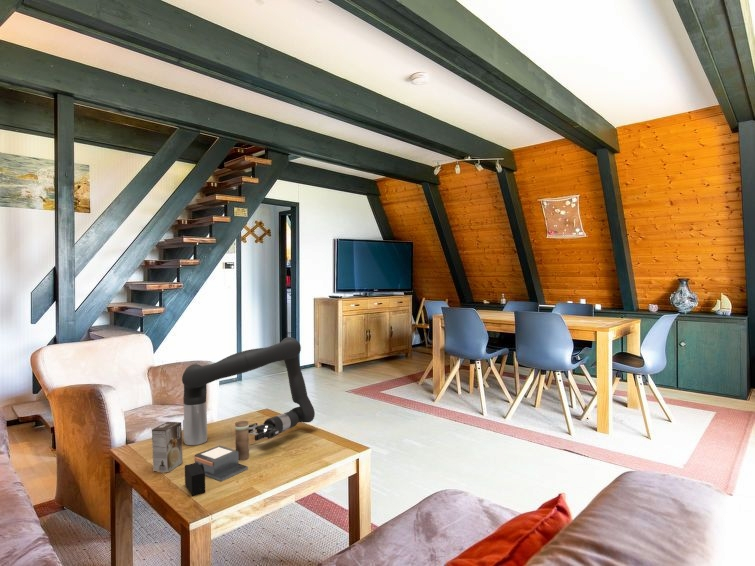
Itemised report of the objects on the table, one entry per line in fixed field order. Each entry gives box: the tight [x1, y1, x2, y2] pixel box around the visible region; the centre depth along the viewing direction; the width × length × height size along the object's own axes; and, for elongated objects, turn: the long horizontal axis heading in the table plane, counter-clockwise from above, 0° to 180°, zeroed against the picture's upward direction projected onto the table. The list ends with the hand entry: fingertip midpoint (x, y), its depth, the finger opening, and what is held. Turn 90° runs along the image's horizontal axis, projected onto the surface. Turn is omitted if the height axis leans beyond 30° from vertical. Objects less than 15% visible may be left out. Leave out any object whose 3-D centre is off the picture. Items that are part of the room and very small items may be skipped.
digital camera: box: [184, 462, 206, 497], centre depth 159 cm, size 10×5×7 cm, turn 34°
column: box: [234, 420, 250, 461], centre depth 184 cm, size 5×5×14 cm
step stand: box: [193, 444, 249, 482], centre depth 175 cm, size 20×12×6 cm, turn 57°
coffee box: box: [151, 421, 184, 473], centre depth 176 cm, size 9×6×16 cm
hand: (248, 436), depth 187 cm, fingers open, 8 cm apart
